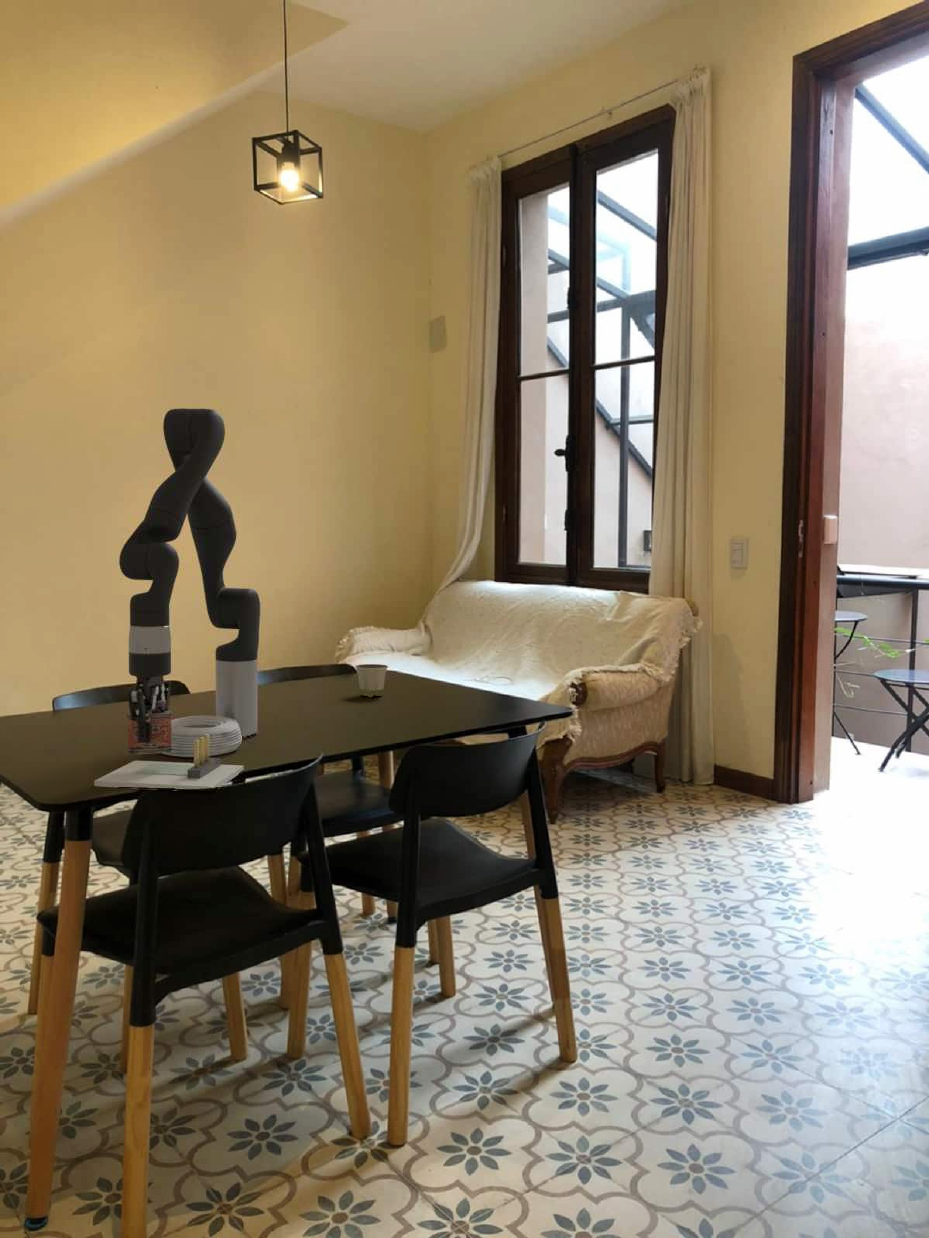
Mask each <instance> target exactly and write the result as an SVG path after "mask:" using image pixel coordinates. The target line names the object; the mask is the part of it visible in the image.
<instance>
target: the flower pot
mask: <svg viewBox="0 0 929 1238" xmlns="http://www.w3.org/2000/svg"><path fill="white" fill-rule="evenodd" d="M354 667H355V669H356V672H357V676H358V684H359V685H358V686H359V690H360V689H362V690H369V691H371V690H373V691H375V690H381V689H383V690H384V687H385V679H386V674H387V672H388V671H387V670H388V668H389V665H387V664H382V663H381V664H380V663H378V664H377V663H364V664H356V665H355V666H354Z"/></svg>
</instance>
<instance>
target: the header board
mask: <svg viewBox="0 0 929 1238" xmlns="http://www.w3.org/2000/svg"><path fill="white" fill-rule="evenodd" d="M244 766H245V765H235V764H221V757H210V756H209V734H205V735H204V737H199V740H194V757H193V762H192V763H191V762H173V761H156V760H155V761H154V760H153V761H152V760H133V761H131V762H129V763H127V764H125V765H123V766H121V767H120V768H117V769H115V770H113V771H111V772H109V773H108V774H105V775H103V776H101V777H99V778H97V779H96V780H94V787H103V788H104V787H105V788H118V787H148V788H175V789H199V788H215V787H220V788H221V787H223V786H224V785H225V784H227V783H228V782H230V781H231V780H232V779H234V778H235V777H237V776H238V775H240V774H241V773H242V772H241V771H242V770H244V771H245V769H244ZM240 772H241V773H240ZM239 773H240V774H239Z"/></svg>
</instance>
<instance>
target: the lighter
mask: <svg viewBox="0 0 929 1238" xmlns="http://www.w3.org/2000/svg"><path fill="white" fill-rule="evenodd" d="M145 706H149V704H145ZM165 706H166V701H165V700H158V701H156V704H155V710H154V711H152V715H151V722H150V723H151V741H150V742H149V743H139V742H138V723H137V722H136V721H132V720H131V714H130V711H129V712H127V715H126V716H127V719H128V721H127V727H128V728H127V730H128V732H127V733H128V734H127V735H128V737H127V738H128V740H127V742H128V743H127V744H128V747H127V754H129V755H146V754H147V755H149V754H150V755H151V754H152V755H153V754H162V753H166V752H172V751H173V746H172V726H171V720H172V717H173V711H172V710H168V711H165ZM157 707H160V709H161V711H159V709H158V708H157ZM136 713H137V711H136ZM146 714H147V710H146Z"/></svg>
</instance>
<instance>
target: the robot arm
mask: <svg viewBox="0 0 929 1238" xmlns="http://www.w3.org/2000/svg"><path fill="white" fill-rule="evenodd" d="M162 423H163V424H162V425H163V427H162V429H163V436H164V442H165V445H166V448H167V451H168V455H169V457H170V460H171V463H172V465H173V468H174V469H173V470H175V471H174V472H173V473H171V474H170V476H168V477H167V478H166V479H165V480H164V481H163V482H162V483H161V484H160V485H159V486H158V487H157V489H156V490H155V492H154V493H153V495H152V497H151V500H150V502H149V505H148V507H147V510H146V513H145V516H144V517H143V520H142V521H141V522H140V523H139V525H138V526H137V527H136V529H135V530H134V531H133V532H132V533H131V535H130V536H129V538H128V539H127V540H126V541H125V543H124V544H123V546H122V549H121V551H120V553H119V558H118V559H119V561H118V565H119V569H120V572H121V574H122V575H123V576H124V577H126V578H127V579H130V580H133V581H152V582H151V586H150V587H149V589H148V591H146V592H139V593H136V594H133V595H132V596H131V597H130V599H129V600H130V601H129V632H128V673H129V675H131V676H132V677H136V683H135V686H134V687H135V689H134V690H128V692H127V700H128V706H129V712H130V714H131V720H132V721H136V722H137V723H138V742H139V743H149V742H150V741H151V723H150V722H151V715H152V711H154V710H155V704H156V701H158V700H165V701H166V706H165V711H169V707H170V699H171V691H172V689H171V688H172V682H171V681H165V679H164V677H166V676H168V675H170V674H171V672H172V646H171V645H172V637H171V629H170V603H171V598H172V594H173V590H174V586H175V582H176V579H177V576H178V572H179V567H180V557H179V554H178V551H177V550H176V549H175V547H174V546H173V545H172V544H170V542H173V541H175V540H176V539H178V538H179V536H180V534H181V532H182V530H183V527H184V523H185V521H186V518H187V520H188V524H189V529H190V532H191V536H192V540H193V543H194V547H195V551H196V554H197V559H198V564H199V568H200V573H201V579H202V585H203V592H204V599H205V600H204V601H205V606H206V611H207V615H208V618H209V621H210V623H211V624H212V626H213V627H214V628H217V629H224V630H225V629H226V630H238V633H237V637H236V638H235V639H233V640H231V641H230V642H227V643H224V644H220V645H218V646H217V647H216V648H215V716H221V717H227V718H231V719H233V720H235V721H236V722H237V723H238V725H239V728H240V730H241V731H240V732H241V736H246V735H251V734H253V733H255V732H257V733H258V654H259V653H258V652H259V644H260V623H261V622H260V620H261V601H260V596H259V593H258V592H257V591H256V590H255V589H253V588H242V587H241V588H240V587H239V588H238V587H234V588H233V587H227V586H226V585H225V582H224V569H225V566H226V563H227V562H228V559H229V557H230V555H231V553H232V551H233V549H234V546H235V544H236V541H237V527H236V524H235V519H234V515H233V514H234V513H233V511H232V508H231V505H230V503H229V501H228V500H227V499H226V498H225V496H224V495H223V494H222V493H221V492H220V490H219V489H218V488H217V487H216V486H215V485H214V484H213V483H212V482H211V480H209V478H208V477H207V475H208V473H209V471H210V469H211V468H212V466H213V464H214V462H215V461H216V459H217V458H218V456H219V453H220V452H221V449H222V448H223V445H224V441H225V437H226V426H225V422H224V419H223V417H222V415H221V414H220V413H219V411H217V410H215V409H212V408H183V407H182V408H173V409H169V410H167V412H166V413H165V415H164V417H163V422H162ZM145 704H149V706H145ZM157 708H158V709H159V711H161V709H160V707H157ZM146 710H147V714H146ZM136 712H137V713H136Z"/></svg>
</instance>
